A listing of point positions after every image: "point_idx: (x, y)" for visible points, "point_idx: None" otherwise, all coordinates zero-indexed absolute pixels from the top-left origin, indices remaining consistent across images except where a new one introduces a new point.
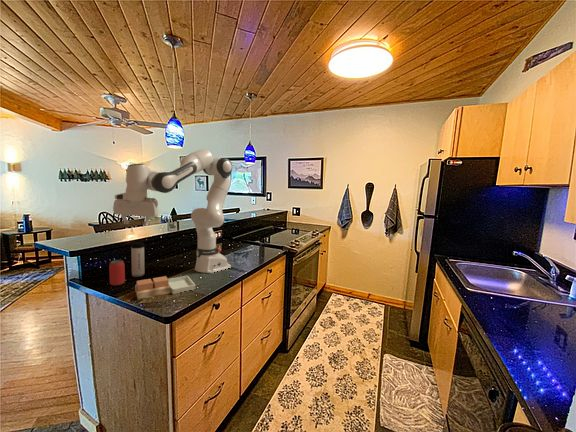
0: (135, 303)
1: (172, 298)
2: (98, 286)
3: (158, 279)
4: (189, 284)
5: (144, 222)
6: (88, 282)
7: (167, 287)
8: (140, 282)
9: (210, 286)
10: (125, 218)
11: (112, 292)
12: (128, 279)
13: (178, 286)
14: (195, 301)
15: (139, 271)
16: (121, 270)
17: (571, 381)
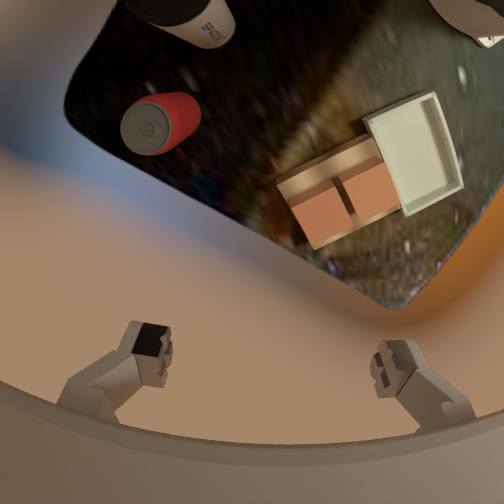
0: (313, 259)
1: (402, 234)
2: None
3: (366, 196)
4: (440, 145)
5: (390, 393)
6: (85, 121)
7: (391, 208)
8: (311, 222)
9: (488, 162)
10: (117, 385)
11: (207, 189)
12: (196, 74)
13: (410, 158)
14: (451, 252)
15: (222, 40)
16: (184, 133)
17: None
